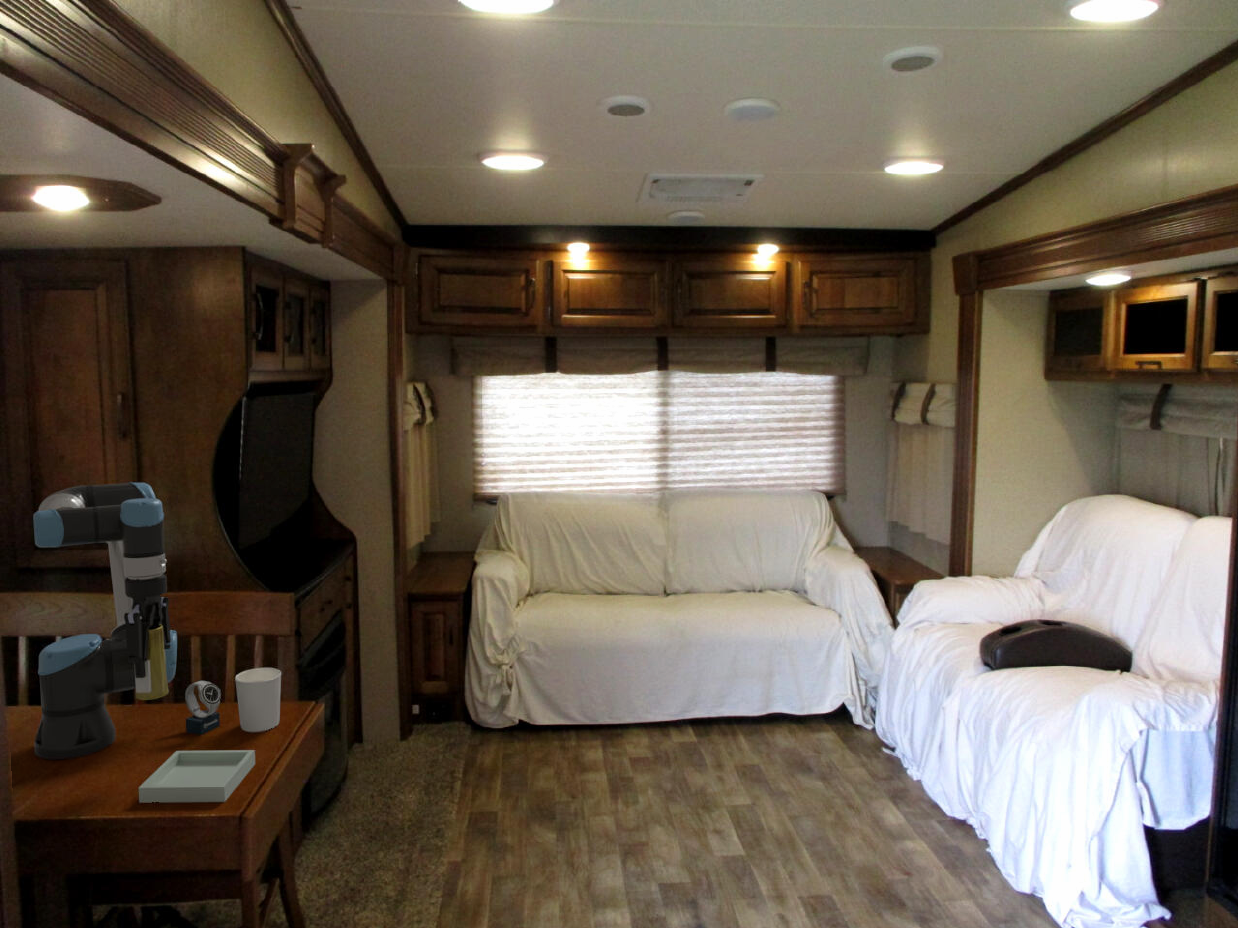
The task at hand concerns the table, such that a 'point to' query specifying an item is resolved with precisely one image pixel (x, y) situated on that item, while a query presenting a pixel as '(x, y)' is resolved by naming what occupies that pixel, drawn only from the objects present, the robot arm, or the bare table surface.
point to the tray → (197, 776)
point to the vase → (156, 666)
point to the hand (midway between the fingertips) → (151, 686)
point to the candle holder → (259, 698)
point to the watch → (204, 719)
